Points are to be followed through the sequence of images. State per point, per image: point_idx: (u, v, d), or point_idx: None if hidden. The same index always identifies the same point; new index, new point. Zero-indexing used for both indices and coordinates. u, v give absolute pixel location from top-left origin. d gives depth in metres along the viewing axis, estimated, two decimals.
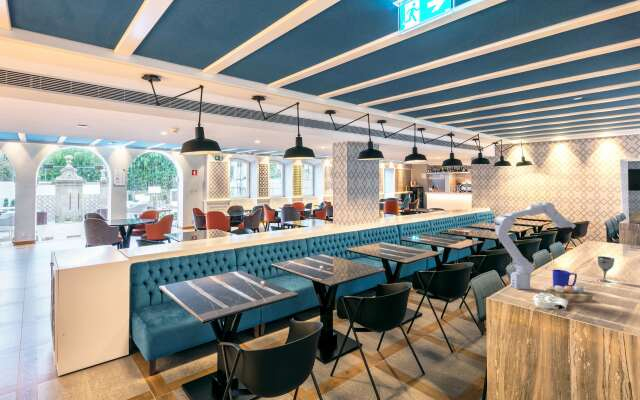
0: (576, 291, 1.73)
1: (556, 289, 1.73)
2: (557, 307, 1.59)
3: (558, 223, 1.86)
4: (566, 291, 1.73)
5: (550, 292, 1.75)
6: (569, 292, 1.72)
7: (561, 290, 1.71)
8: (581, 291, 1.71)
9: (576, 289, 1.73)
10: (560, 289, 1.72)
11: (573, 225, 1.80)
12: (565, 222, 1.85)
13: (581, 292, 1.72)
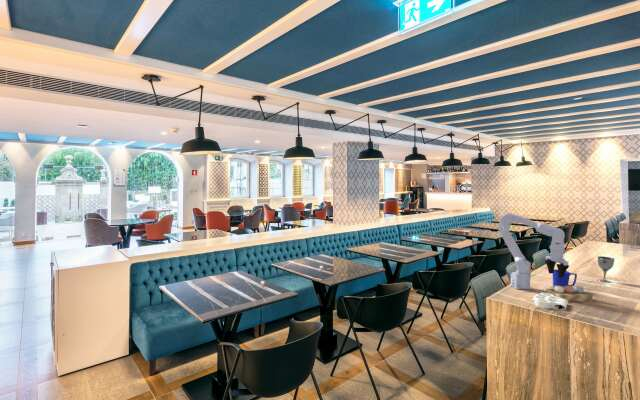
0: (576, 291, 1.73)
1: (556, 289, 1.73)
2: (557, 307, 1.59)
3: (554, 254, 1.78)
4: (566, 291, 1.73)
5: (550, 292, 1.75)
6: (569, 292, 1.72)
7: (561, 290, 1.71)
8: (581, 291, 1.71)
9: (576, 289, 1.73)
10: (560, 289, 1.72)
11: (566, 263, 1.73)
12: (561, 258, 1.77)
13: (581, 292, 1.72)
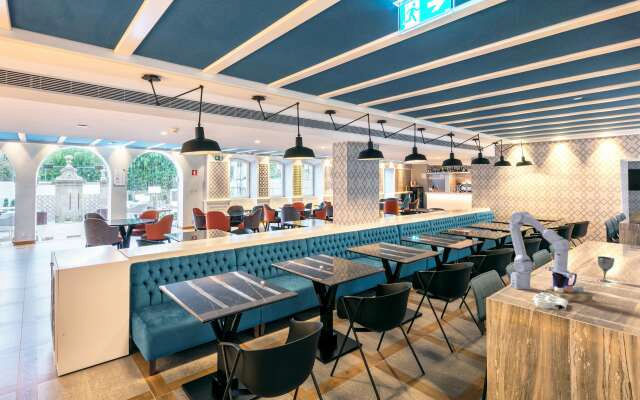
0: (576, 291, 1.73)
1: (556, 290, 1.73)
2: (557, 307, 1.59)
3: (558, 266, 1.71)
4: (566, 291, 1.73)
5: (550, 292, 1.75)
6: (569, 292, 1.72)
7: (561, 291, 1.72)
8: (581, 291, 1.71)
9: (576, 289, 1.73)
10: (560, 290, 1.72)
11: (570, 275, 1.66)
12: (564, 270, 1.70)
13: (581, 292, 1.72)
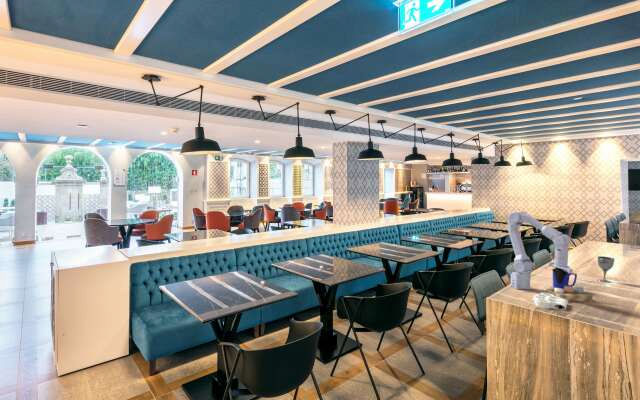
0: (576, 291, 1.73)
1: (556, 291, 1.73)
2: (557, 307, 1.59)
3: (558, 261, 1.71)
4: (566, 291, 1.73)
5: (550, 292, 1.75)
6: (569, 292, 1.72)
7: (561, 292, 1.72)
8: (581, 291, 1.71)
9: (576, 289, 1.73)
10: (560, 291, 1.72)
11: (571, 270, 1.66)
12: (565, 265, 1.70)
13: (581, 292, 1.72)
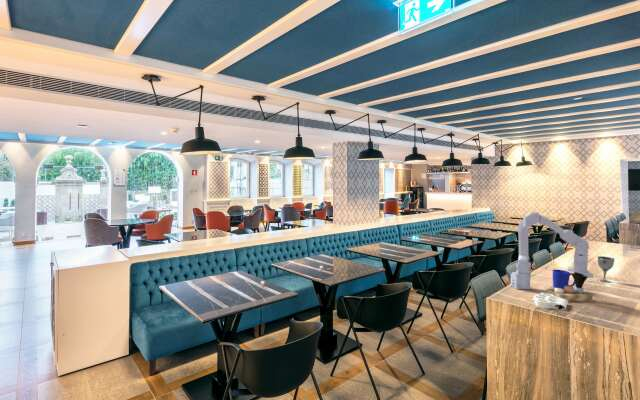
0: (576, 291, 1.73)
1: (556, 291, 1.73)
2: (557, 307, 1.59)
3: (578, 266, 1.71)
4: (566, 291, 1.73)
5: (550, 292, 1.75)
6: (569, 292, 1.72)
7: (561, 292, 1.72)
8: (581, 291, 1.71)
9: (576, 289, 1.73)
10: (560, 291, 1.72)
11: (591, 275, 1.66)
12: (584, 270, 1.70)
13: (581, 292, 1.72)
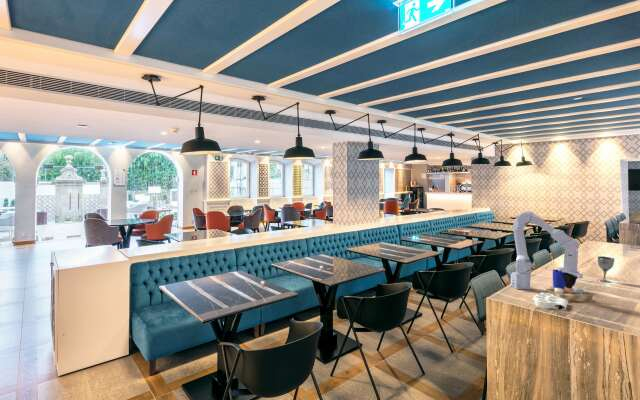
0: None
1: (556, 291, 1.73)
2: (557, 307, 1.59)
3: (568, 266, 1.71)
4: (566, 292, 1.73)
5: (550, 292, 1.75)
6: (569, 293, 1.72)
7: (561, 292, 1.72)
8: (581, 293, 1.72)
9: (576, 291, 1.73)
10: (560, 291, 1.72)
11: (581, 276, 1.66)
12: (574, 270, 1.70)
13: None
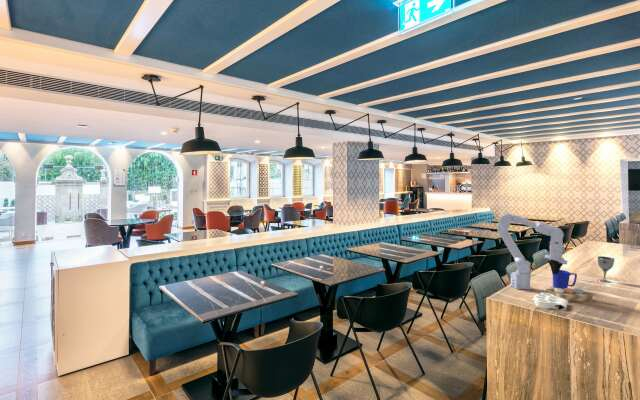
0: None
1: (556, 291, 1.73)
2: (557, 307, 1.59)
3: (553, 253, 1.79)
4: None
5: (550, 292, 1.75)
6: None
7: (561, 292, 1.72)
8: (581, 293, 1.72)
9: (576, 291, 1.73)
10: (560, 291, 1.72)
11: (565, 262, 1.73)
12: (559, 257, 1.78)
13: None
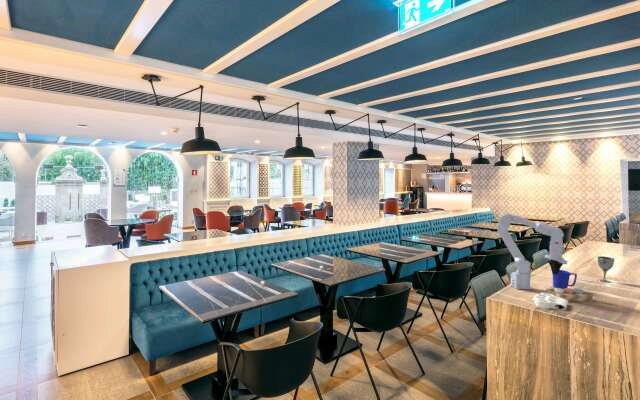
0: None
1: (556, 291, 1.73)
2: (557, 307, 1.59)
3: (553, 253, 1.79)
4: None
5: (550, 292, 1.75)
6: None
7: (561, 292, 1.72)
8: (581, 293, 1.72)
9: (576, 291, 1.73)
10: (560, 291, 1.72)
11: (565, 262, 1.73)
12: (559, 257, 1.78)
13: None
